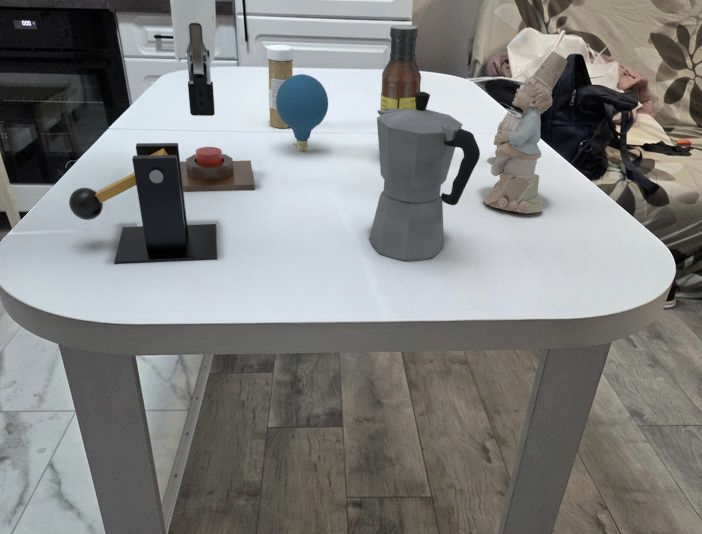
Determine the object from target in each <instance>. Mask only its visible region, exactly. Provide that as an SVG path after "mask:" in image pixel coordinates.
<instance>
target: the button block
mask: <svg viewBox="0 0 702 534" xmlns="http://www.w3.org/2000/svg"><path fill="white" fill-rule="evenodd" d="M233 159H234V158H233V157H231V156H229V155H227V154H224V153H222V162H223V163H221V164H218V165H209V166H205V165H200V164H197V160H196V154H192V155H191V156H188V157H187V158H186V159H185V161H180V165H181V174H182V183H183V191H184V193H189V192H190V193H192V192H196V193H197V192H198V193H199V192H231V191H232V192H233V191H234V192H235V191H238V192H239V191H256V183H255V179H254V173H253V166H252V160H233Z"/></svg>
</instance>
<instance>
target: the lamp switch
mask: <svg viewBox="0 0 702 534" xmlns="http://www.w3.org/2000/svg"><path fill="white" fill-rule="evenodd" d="M163 148H164V150H165V151H166V153H167V154H168V155H151V154H153V153H155V152H157V151H159V150H161V149H163ZM135 150H136V151H135V152H136V155H132V158H131V161H132V166H133V167H132V168H133V173H135V180H136V185H135V186H136V192H137V198H138V205H139V210H140V216H141V223H142V226H140V225H139V226H123V227H122V229H121V232H120V237H119V241H118V246H117V249H116V253H115V256H114V261H113V263H114V265H128V264H150V263H173V262H175V263H176V262H195V261H197V262H199V261H217V260H218V242H217V239H218V238H217V237H218V236H217V223H201V224H199V223H198V224H188V219H187V218H188V217H187V210H186V202H185V201H186V200H185V192H184V191H183V183H182V174H181V165H180V162H181V158H180V157H181V156H180V149H179V143H178V142H154V143H153V142H148V143H147V142H145V143H144V142H141V143H140V142H138V143H136V144H135Z"/></svg>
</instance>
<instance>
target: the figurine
mask: <svg viewBox="0 0 702 534" xmlns="http://www.w3.org/2000/svg"><path fill="white" fill-rule="evenodd" d="M567 65H568V60H567V59H566V58H565V57H564V56H563V55H561V54H559V53H558V52H556V51H551V52H550V53H549V54H548V55H547V56H546V58H545V59H544V61H542V63H541V64H540V65H539V67H538V69H536V71H535V72H534V73H533V75H530V76H529V77H527V78H525V79H524V86H522V88H516V93H515V94H514V96H515V97H514V98H513V101H512V103H511V104H512V105H513V107H517V108H519V109H521V110H522V115H521V116H520V117H519V116H516V115H513V114H512V113H510V112H509V111H507V112H506V114H505V115H504V117H503V119H502V121H500V122H499V124H498V127H497V132H496V134H495V135H494V141H493V146H496V149H495V150H494V154H495V156H490V157H489V158H487V159H486V163H487V164H489V165H491V168H490V173H491V175H493V176H494V177H498V176H499V180H498V181H497V182H495V184H494V186H493V187H492V188H491V189H490V190H489V191H487V193H485V195H484V196H483V198H482V202H483V203H485V205H489V206H490V207H492V208H496V209H500V210H503V211H508V212H514V213H519V214H534V213H540V212H543V211H544V205H543V204H542V202H541V200H540V196H539V183H540V175H539V174H536V173H535V171H536V166H537V163H538V159H540V158H542V151H541V149H540V148H539V146H538V143H539V142H540V141H541V121H542V120H541V114H544V112H546V111H548V109H549V108H550V107H552V105H553V97H552V94H553V89H554V88H555V86H556V85H557V82H558V81H559V79H560V78H561V76H562V75H563V73H564V71H565V70H566V68H567Z"/></svg>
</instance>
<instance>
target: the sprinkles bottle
mask: <svg viewBox="0 0 702 534" xmlns="http://www.w3.org/2000/svg"><path fill="white" fill-rule="evenodd" d="M266 57H267V61H268V63H267V64H268V107H269V122H268V123H269V126H271V127H272V128H277V129H287V128H290V127H289V126H288V125H287V124H285V123H284V121H283V120H282V119H281V117H280V116H279V114H278V111H277V108H276V96H277V92H278V90H279V88H280V86H281V85H282V83H283V82H284V81H285V80H286V79H288V78H290V77H292V76H294V74H293V61H294V48H293V46H291V45H287V44H271V45H267V48H266Z"/></svg>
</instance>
